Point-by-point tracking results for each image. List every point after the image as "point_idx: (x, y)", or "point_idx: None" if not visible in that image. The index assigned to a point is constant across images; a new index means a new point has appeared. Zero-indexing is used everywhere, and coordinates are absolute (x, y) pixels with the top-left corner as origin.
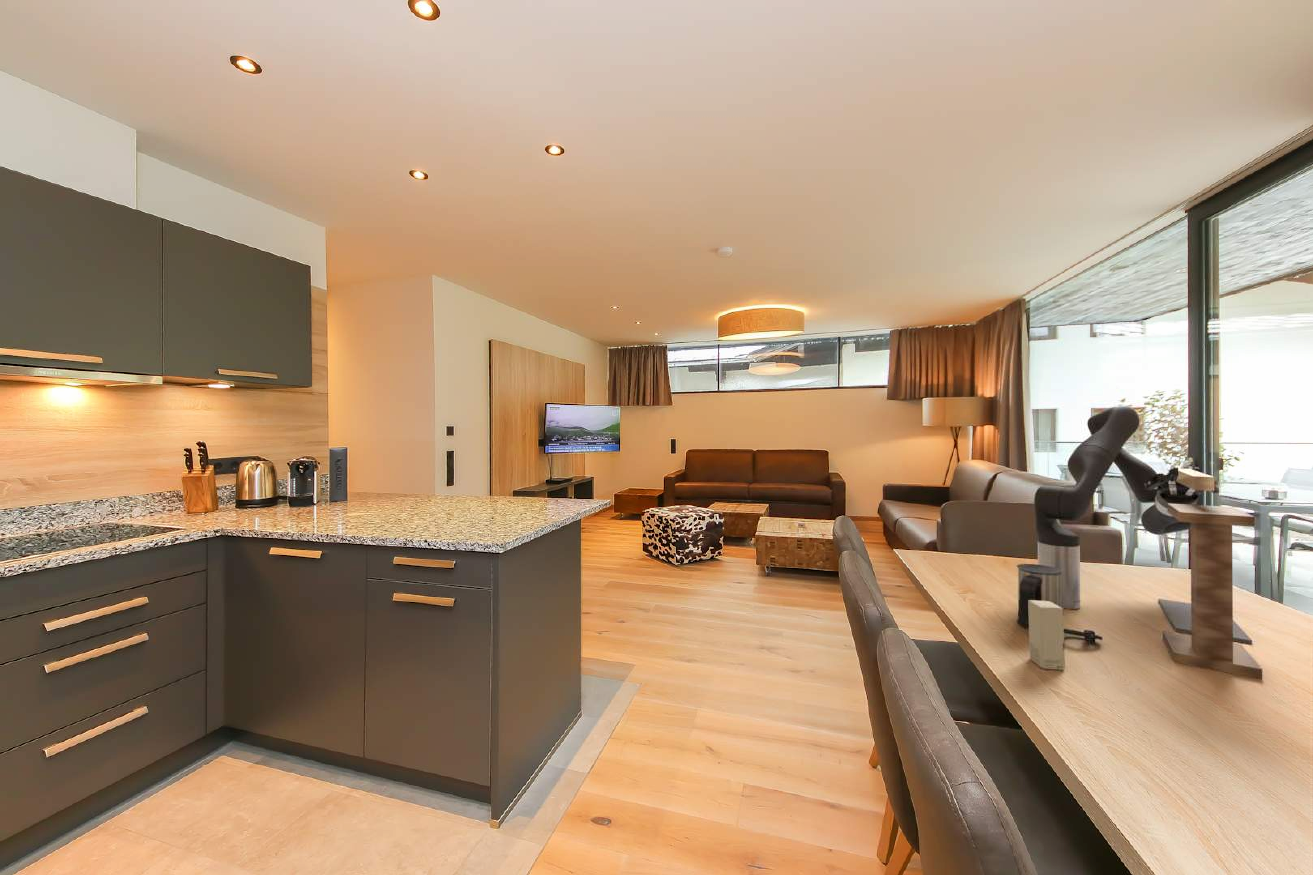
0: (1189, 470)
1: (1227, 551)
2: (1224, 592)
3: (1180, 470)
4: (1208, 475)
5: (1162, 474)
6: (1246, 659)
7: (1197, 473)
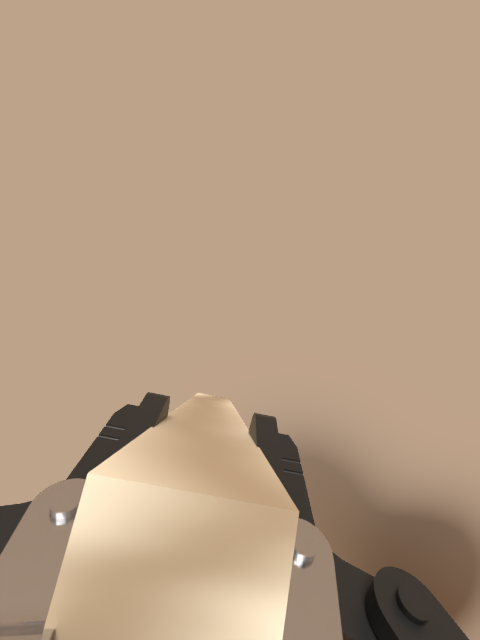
0: (190, 425)
1: None
2: None
3: (238, 430)
4: (197, 395)
5: (376, 579)
6: None
7: (205, 402)
